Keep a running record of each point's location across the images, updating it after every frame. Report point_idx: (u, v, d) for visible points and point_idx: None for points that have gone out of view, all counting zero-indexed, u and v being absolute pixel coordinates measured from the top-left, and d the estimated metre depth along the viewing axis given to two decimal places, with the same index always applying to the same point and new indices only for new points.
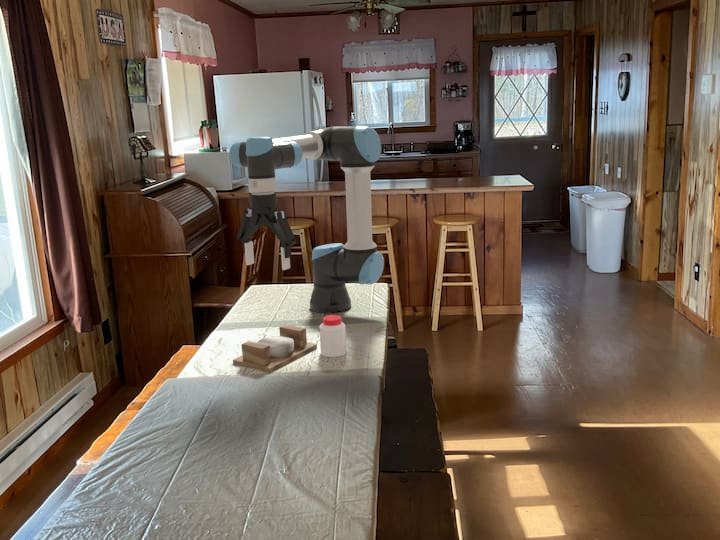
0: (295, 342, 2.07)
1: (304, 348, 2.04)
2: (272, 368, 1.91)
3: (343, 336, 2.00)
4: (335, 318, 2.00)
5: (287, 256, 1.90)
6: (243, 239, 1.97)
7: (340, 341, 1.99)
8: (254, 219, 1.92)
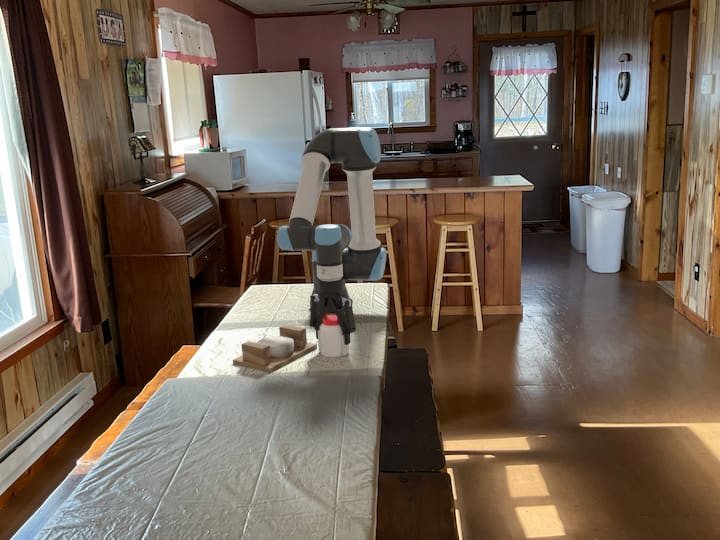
0: (295, 342, 2.07)
1: (304, 348, 2.04)
2: (272, 368, 1.91)
3: None
4: (335, 318, 2.00)
5: (347, 343, 1.99)
6: (316, 326, 2.03)
7: (340, 341, 1.99)
8: (322, 303, 1.99)
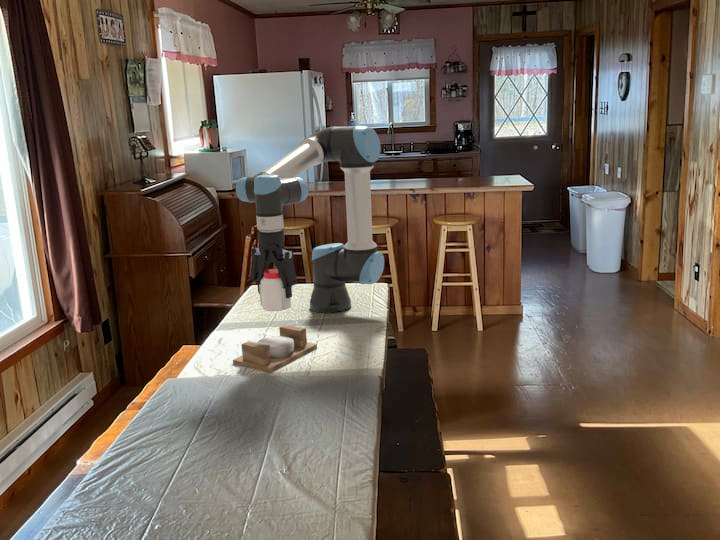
0: (295, 342, 2.07)
1: (304, 348, 2.04)
2: (272, 368, 1.91)
3: None
4: (277, 271, 1.96)
5: (288, 296, 1.95)
6: (257, 280, 1.99)
7: (281, 295, 1.95)
8: (263, 256, 1.95)
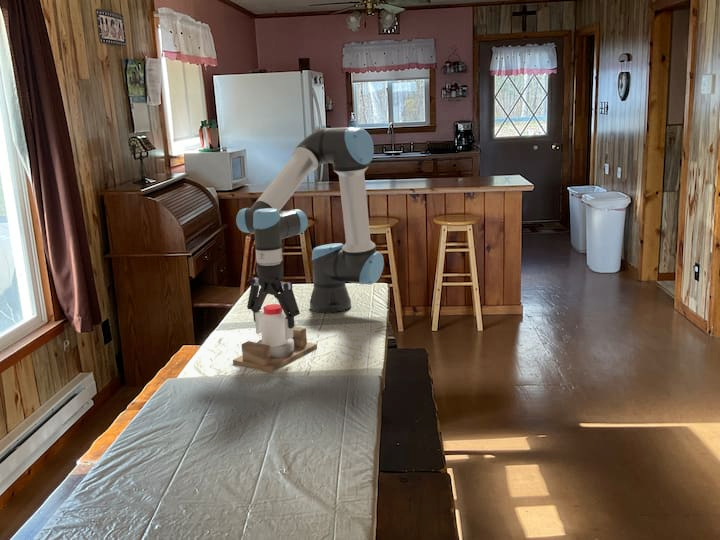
0: (295, 342, 2.07)
1: (304, 348, 2.04)
2: (272, 368, 1.91)
3: (284, 325, 1.98)
4: (276, 307, 1.99)
5: (290, 326, 1.96)
6: (253, 309, 2.02)
7: (280, 330, 1.98)
8: (261, 288, 1.97)
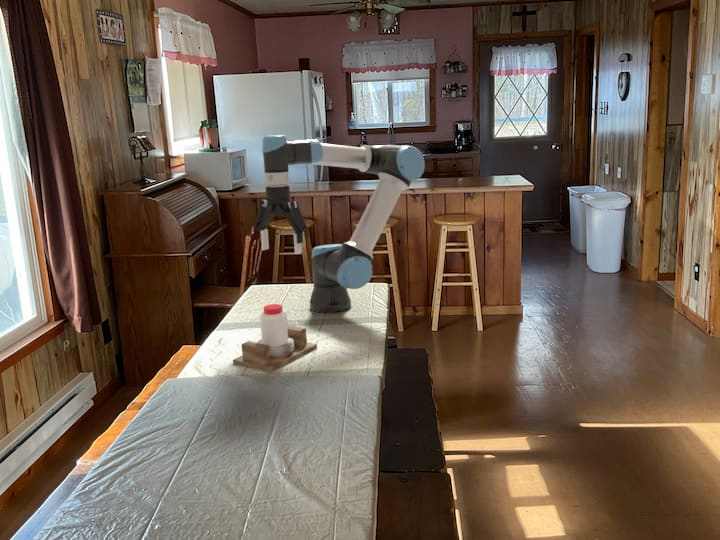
0: (295, 342, 2.07)
1: (304, 348, 2.04)
2: (272, 368, 1.91)
3: (284, 325, 1.98)
4: (276, 307, 1.99)
5: (299, 241, 2.13)
6: (259, 227, 2.20)
7: (280, 330, 1.98)
8: (269, 209, 2.15)
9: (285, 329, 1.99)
